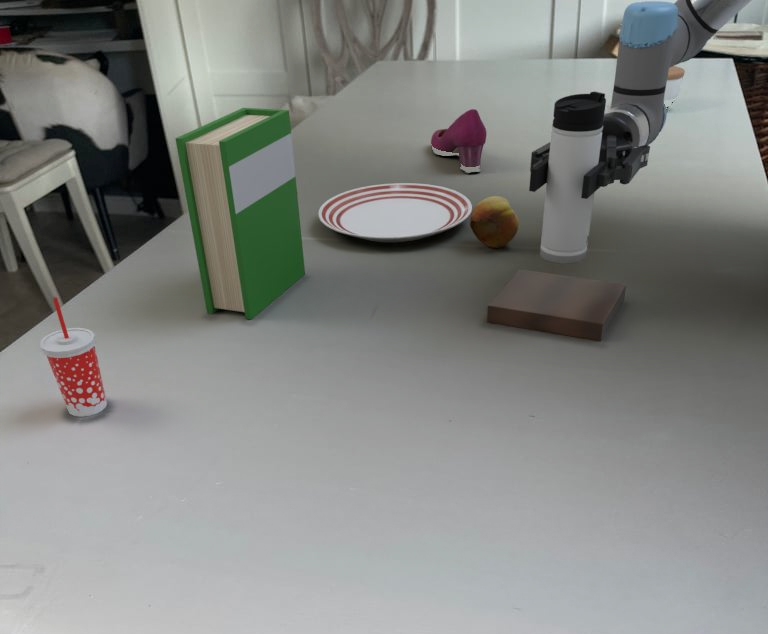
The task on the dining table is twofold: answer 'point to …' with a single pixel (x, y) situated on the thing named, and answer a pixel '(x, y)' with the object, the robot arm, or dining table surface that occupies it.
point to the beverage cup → (75, 367)
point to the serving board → (557, 304)
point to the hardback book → (243, 208)
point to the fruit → (494, 222)
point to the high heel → (463, 138)
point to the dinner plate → (395, 211)
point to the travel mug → (571, 176)
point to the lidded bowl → (673, 82)
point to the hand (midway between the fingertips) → (558, 183)
